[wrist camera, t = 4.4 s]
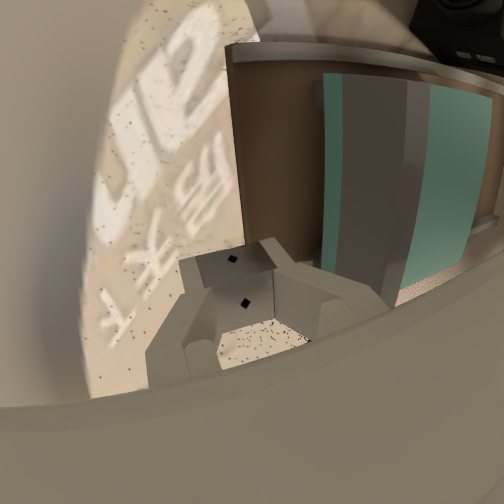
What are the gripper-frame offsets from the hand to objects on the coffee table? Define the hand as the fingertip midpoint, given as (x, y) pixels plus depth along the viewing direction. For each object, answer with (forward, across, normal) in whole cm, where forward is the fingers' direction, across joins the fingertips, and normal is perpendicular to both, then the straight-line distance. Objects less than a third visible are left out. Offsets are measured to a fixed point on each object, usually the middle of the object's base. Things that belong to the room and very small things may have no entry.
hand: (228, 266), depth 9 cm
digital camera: (+7, -18, -13) cm, 23 cm away
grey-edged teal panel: (+5, -10, 0) cm, 11 cm away
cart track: (+6, -15, 0) cm, 17 cm away
